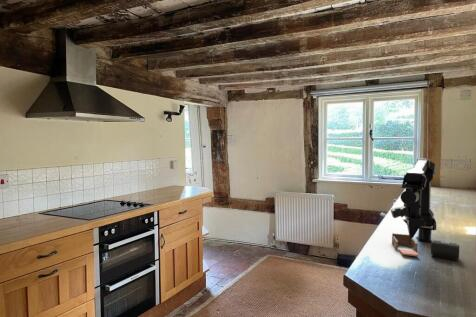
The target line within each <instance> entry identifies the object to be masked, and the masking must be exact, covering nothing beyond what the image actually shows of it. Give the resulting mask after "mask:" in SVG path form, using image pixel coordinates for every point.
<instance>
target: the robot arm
mask: <svg viewBox="0 0 476 317" xmlns="http://www.w3.org/2000/svg"><path fill="white" fill-rule="evenodd" d="M414 164H415V165H414V166H413V168H412V169H410V170H407V172H406V173H405V174H404V175H403V179H402V184H401V188H402V189H405V190H404V191H403V192H401V194H400V201H401V202H402V203H403V206H398V207H394V208H390V213H391V216H392V217H393V219H397V218H399V217H400V218H403V217H405V218H404V219H402V220H403V222H404V223H405V224H406V226H407V231H408V235H409V237H410V238H413V239H414V238H415V239H416V240H418V242H424V243H425V242H426V243H432V241H433V239H432V231H437V220H436V218H435V216H434V215H435V213H434V212H433V210H432V209H431V193H432V191H431V189H432V188H431V184H432V180H433V179H434V177H435V175H436V174H437V164H436V163H434V162H432V161H431V160H430V159H429V158H417V159H416V162H414ZM417 232H418V233H417ZM416 233H417V236H416Z"/></svg>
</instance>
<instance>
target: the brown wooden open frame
mask: <svg viewBox="0 0 476 317" xmlns="http://www.w3.org/2000/svg"><path fill="white" fill-rule="evenodd" d="M391 235H392V236H391V245H392V247H393V248H394V249H395V251H398V249H399V246H409V247H411V249H412V251H416V252H417V253H418V248H419V247H418V246H419V244H418V242H417V241H416V240H415V239H414V237H413V238H410V237H409V234H406V233H405V234H401V233H393V232H392V234H391ZM398 252H399V251H398Z"/></svg>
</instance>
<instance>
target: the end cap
mask: <svg viewBox="0 0 476 317" xmlns="http://www.w3.org/2000/svg"><path fill="white" fill-rule="evenodd" d="M430 243H431V245H430V248H431V249H430V255H431V257H435V258H440V259H446V260H452V261H458V260H460V244H457V243H455V242H454V243H453V242H443V241H441V240H432V242H430Z"/></svg>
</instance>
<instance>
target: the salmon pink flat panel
mask: <svg viewBox="0 0 476 317" xmlns="http://www.w3.org/2000/svg"><path fill="white" fill-rule="evenodd" d="M398 252H399V253H400V254H401V255H404V256H410V257H411V256H413V257H420V254H419V253H418V251H417V252H416V251H414V250H409V249H402V248H398Z"/></svg>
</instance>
